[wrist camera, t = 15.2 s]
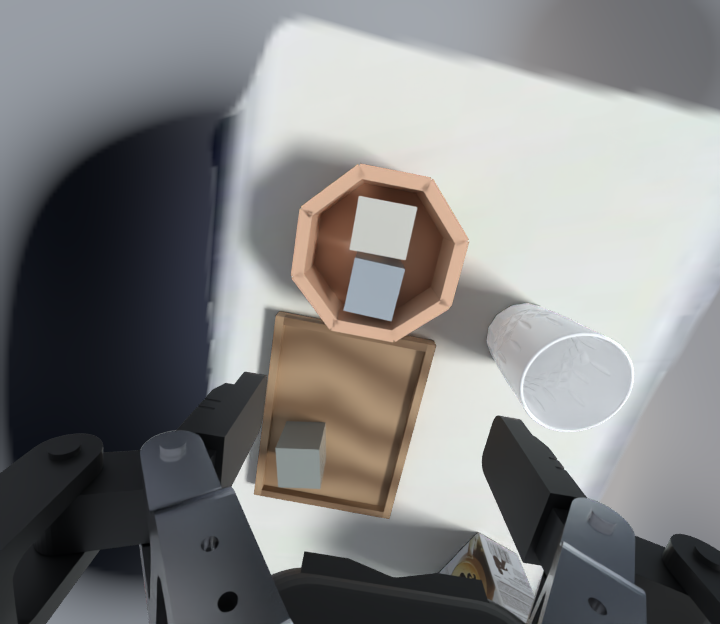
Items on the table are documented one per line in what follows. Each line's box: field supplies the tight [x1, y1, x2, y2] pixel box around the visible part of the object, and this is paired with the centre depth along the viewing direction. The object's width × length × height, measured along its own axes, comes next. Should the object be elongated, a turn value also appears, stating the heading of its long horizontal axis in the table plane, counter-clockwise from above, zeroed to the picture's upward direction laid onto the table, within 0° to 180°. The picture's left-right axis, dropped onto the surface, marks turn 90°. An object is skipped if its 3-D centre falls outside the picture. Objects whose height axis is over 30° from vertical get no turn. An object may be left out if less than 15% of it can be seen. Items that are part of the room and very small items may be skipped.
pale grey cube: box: [350, 196, 417, 260], centre depth 29 cm, size 4×4×5 cm
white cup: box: [486, 303, 634, 432], centre depth 30 cm, size 8×8×10 cm
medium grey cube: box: [276, 421, 326, 489], centre depth 36 cm, size 5×4×4 cm
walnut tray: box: [254, 311, 436, 519], centre depth 37 cm, size 22×16×1 cm
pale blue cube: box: [344, 251, 405, 321], centre depth 30 cm, size 4×4×5 cm
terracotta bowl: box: [291, 164, 469, 342], centre depth 30 cm, size 13×13×6 cm
